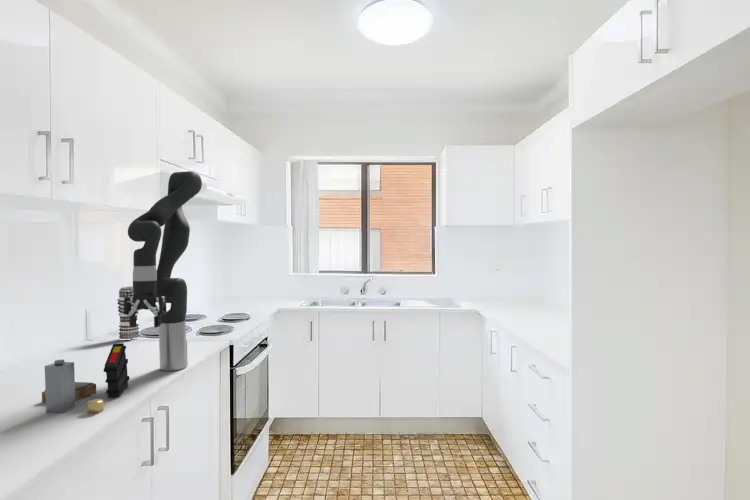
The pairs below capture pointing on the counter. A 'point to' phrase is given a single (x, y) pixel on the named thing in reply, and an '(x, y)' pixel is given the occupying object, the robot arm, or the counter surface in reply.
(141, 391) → the counter surface
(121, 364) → the black ridged block
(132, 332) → the decorative candle
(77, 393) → the stand
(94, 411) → the short brass cylinder
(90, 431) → the counter surface
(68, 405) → the block
